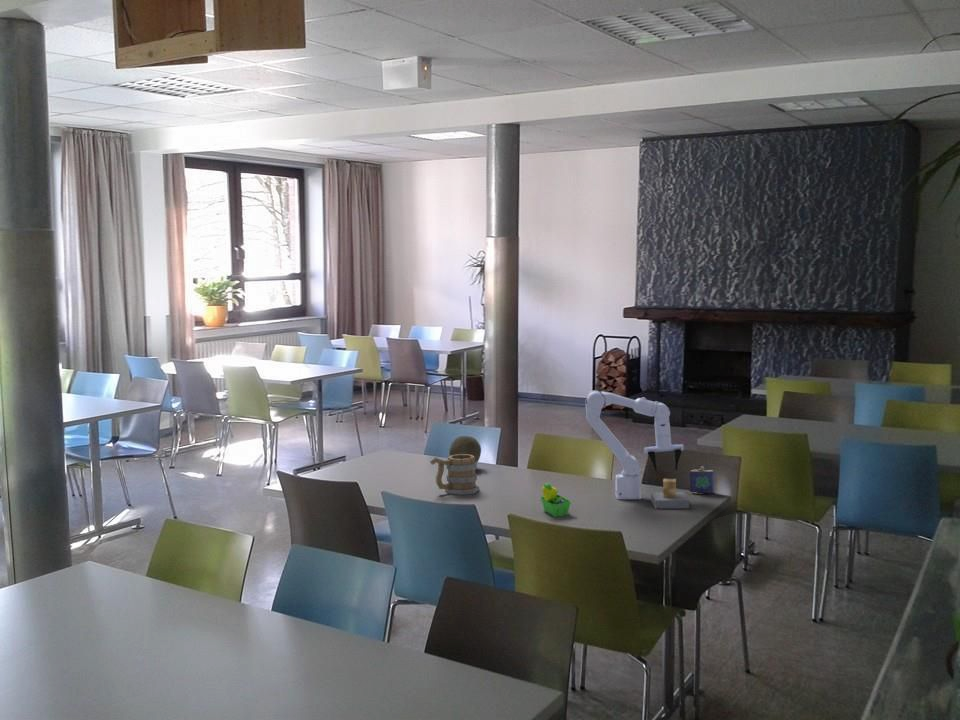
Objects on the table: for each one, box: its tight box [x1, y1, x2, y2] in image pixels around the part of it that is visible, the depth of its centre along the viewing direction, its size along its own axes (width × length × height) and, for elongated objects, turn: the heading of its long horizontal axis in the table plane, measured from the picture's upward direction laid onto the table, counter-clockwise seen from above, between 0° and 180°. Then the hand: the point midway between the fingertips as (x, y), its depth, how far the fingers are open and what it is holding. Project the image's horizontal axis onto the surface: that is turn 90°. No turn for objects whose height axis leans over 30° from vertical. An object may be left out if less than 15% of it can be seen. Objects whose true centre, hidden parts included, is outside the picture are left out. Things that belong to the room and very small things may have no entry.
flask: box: [689, 465, 715, 495], centre depth 341 cm, size 9×3×11 cm, turn 87°
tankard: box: [429, 454, 480, 496], centre depth 351 cm, size 20×13×15 cm, turn 116°
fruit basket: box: [540, 482, 572, 517], centre depth 317 cm, size 11×9×11 cm
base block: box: [650, 491, 690, 509], centre depth 326 cm, size 12×12×3 cm
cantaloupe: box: [448, 435, 482, 464], centre depth 392 cm, size 14×14×15 cm
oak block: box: [662, 478, 677, 498], centre depth 326 cm, size 4×4×6 cm
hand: (665, 470), depth 336 cm, fingers open, 7 cm apart
